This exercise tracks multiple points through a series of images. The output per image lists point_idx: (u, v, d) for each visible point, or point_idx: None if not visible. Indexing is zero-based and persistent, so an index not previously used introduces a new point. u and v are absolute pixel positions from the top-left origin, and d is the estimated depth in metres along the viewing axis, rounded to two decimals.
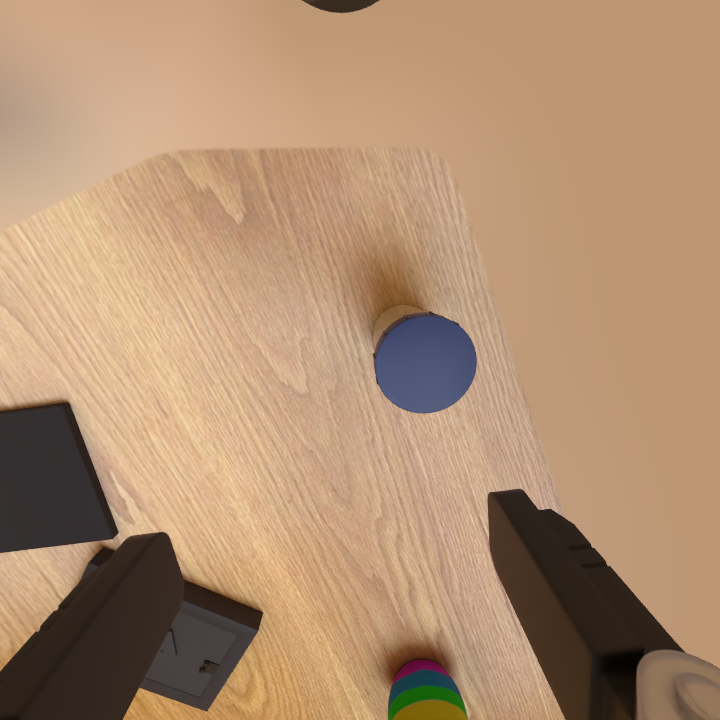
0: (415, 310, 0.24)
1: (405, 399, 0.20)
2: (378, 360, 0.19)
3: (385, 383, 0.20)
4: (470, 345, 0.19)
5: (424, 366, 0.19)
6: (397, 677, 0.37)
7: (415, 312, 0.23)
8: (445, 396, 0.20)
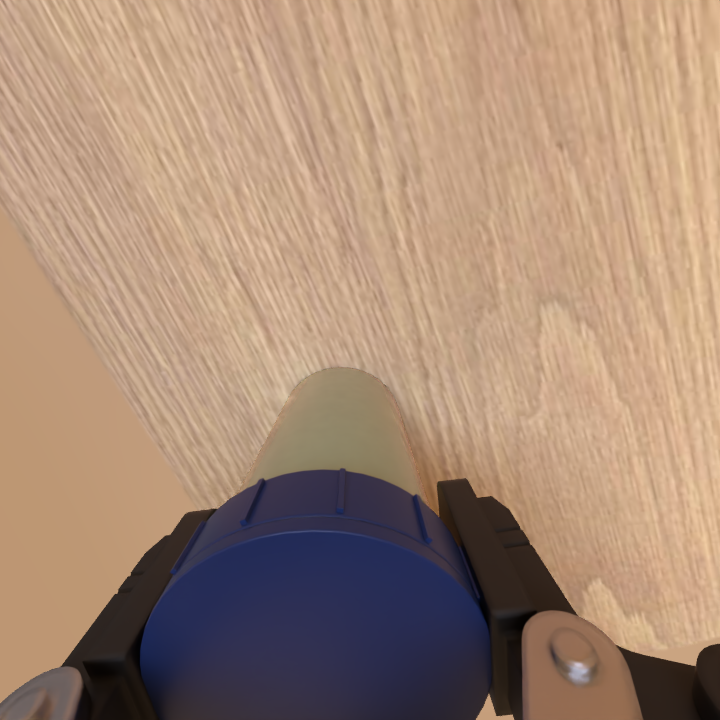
0: None
1: (388, 580, 0.05)
2: (480, 691, 0.06)
3: (461, 628, 0.05)
4: None
5: (324, 678, 0.06)
6: None
7: None
8: (232, 590, 0.05)
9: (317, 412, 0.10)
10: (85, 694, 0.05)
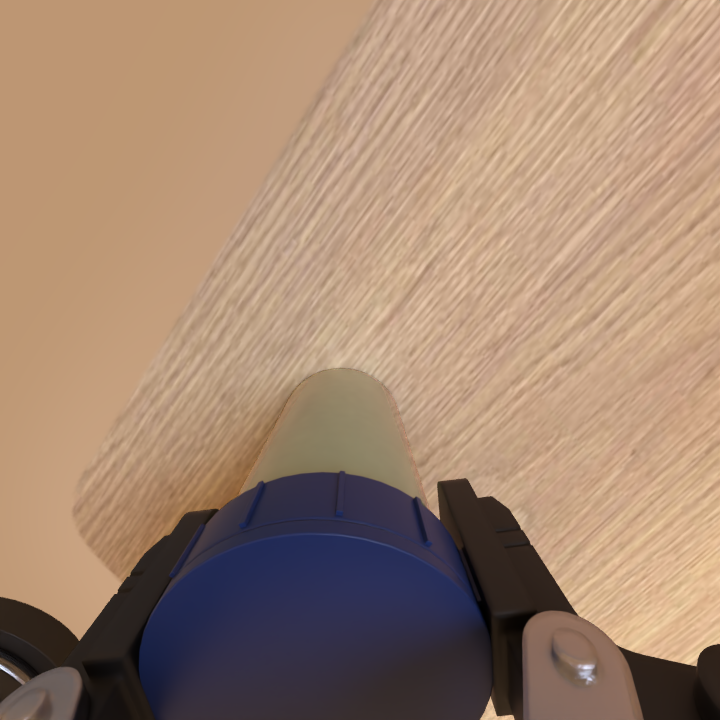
0: None
1: (388, 583, 0.05)
2: (481, 695, 0.06)
3: (462, 631, 0.05)
4: None
5: (323, 683, 0.06)
6: None
7: None
8: (231, 593, 0.05)
9: (400, 438, 0.10)
10: (84, 694, 0.05)
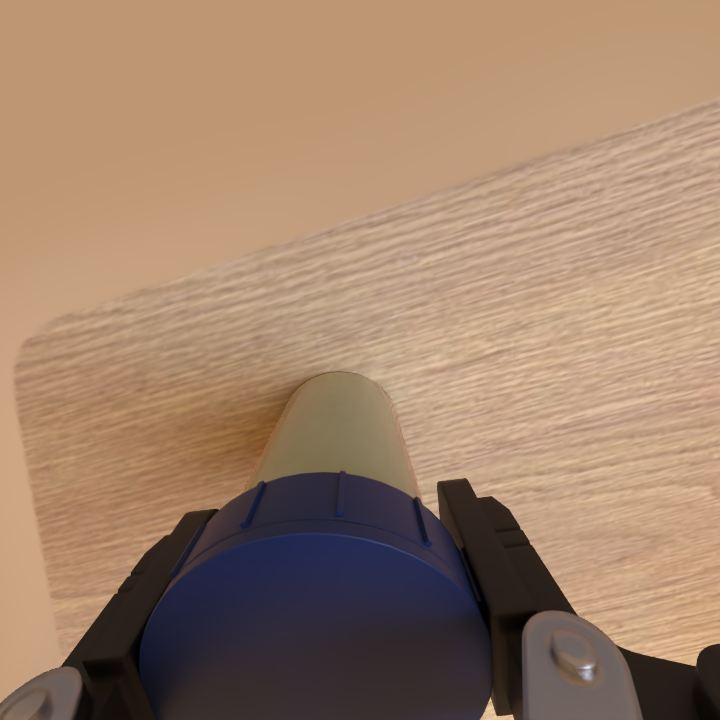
0: None
1: (388, 583, 0.05)
2: (481, 695, 0.06)
3: (462, 631, 0.05)
4: None
5: (323, 683, 0.06)
6: None
7: None
8: (232, 593, 0.05)
9: None
10: (85, 694, 0.05)
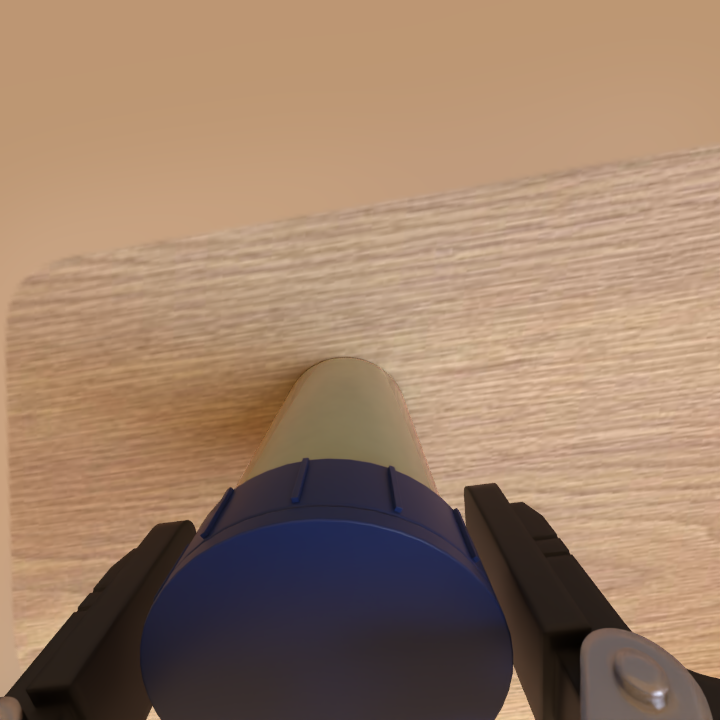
0: None
1: (360, 560, 0.05)
2: (503, 656, 0.05)
3: (457, 594, 0.05)
4: None
5: (332, 676, 0.05)
6: None
7: None
8: (208, 605, 0.05)
9: None
10: None
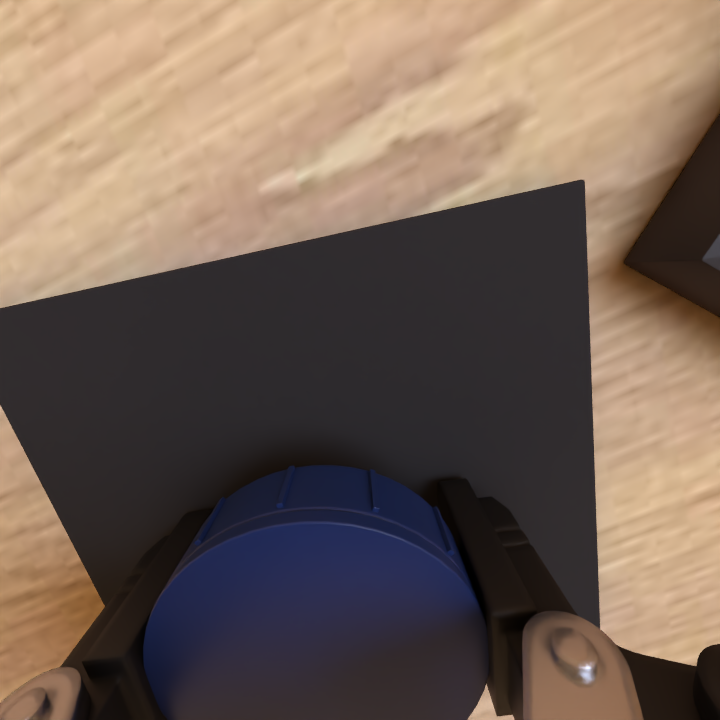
0: None
1: (203, 602, 0.05)
2: (373, 538, 0.05)
3: (277, 547, 0.05)
4: None
5: (319, 666, 0.06)
6: None
7: None
8: (202, 709, 0.06)
9: None
10: (84, 694, 0.05)
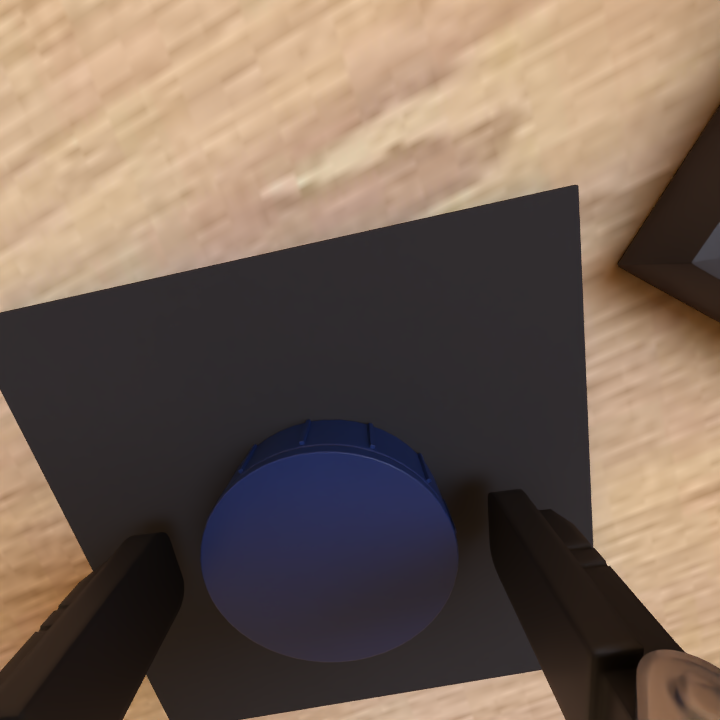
0: None
1: (246, 512, 0.07)
2: (370, 464, 0.07)
3: (300, 471, 0.07)
4: (361, 655, 0.08)
5: (330, 564, 0.08)
6: None
7: None
8: (242, 598, 0.08)
9: None
10: None
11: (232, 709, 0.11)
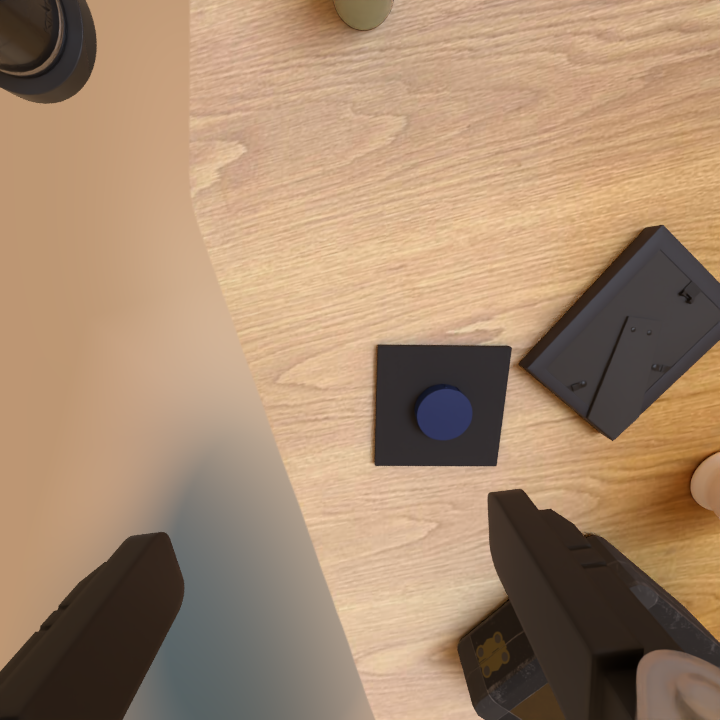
0: None
1: (432, 399, 0.35)
2: (460, 394, 0.35)
3: (446, 392, 0.35)
4: (444, 439, 0.36)
5: (445, 414, 0.35)
6: None
7: None
8: (423, 418, 0.36)
9: None
10: None
11: (394, 461, 0.39)
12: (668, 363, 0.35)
